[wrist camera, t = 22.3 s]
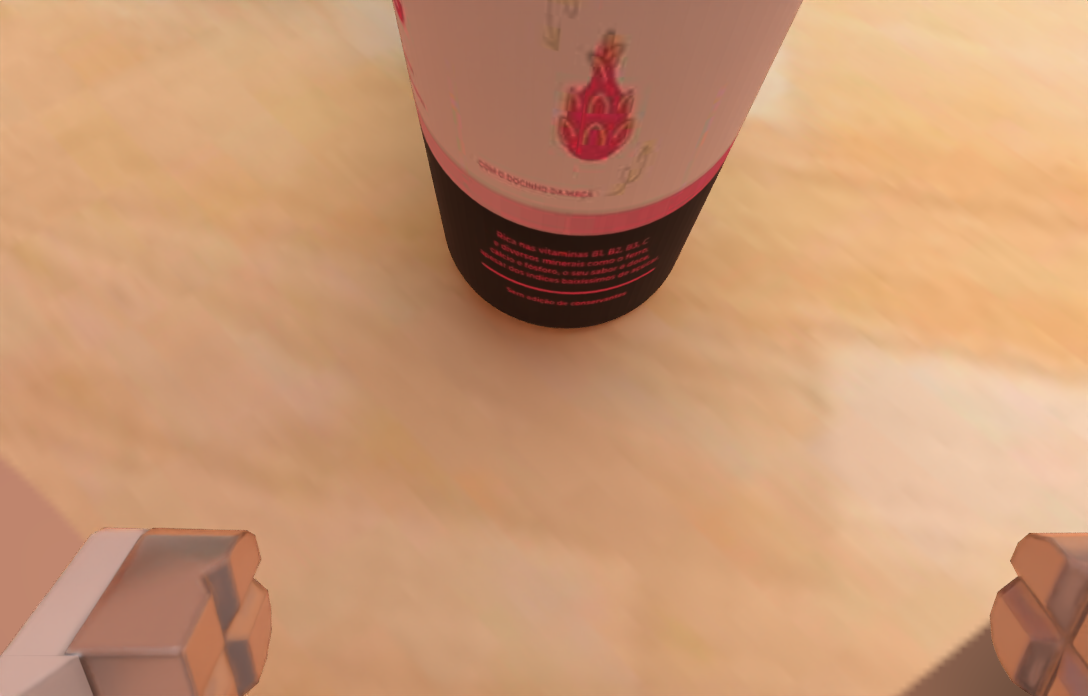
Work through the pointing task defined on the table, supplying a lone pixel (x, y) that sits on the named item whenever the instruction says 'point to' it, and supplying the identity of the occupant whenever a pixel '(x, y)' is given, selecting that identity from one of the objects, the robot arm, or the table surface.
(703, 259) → the table surface
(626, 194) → the beverage can
